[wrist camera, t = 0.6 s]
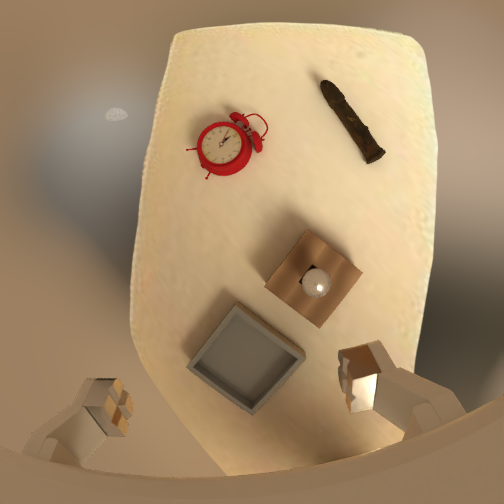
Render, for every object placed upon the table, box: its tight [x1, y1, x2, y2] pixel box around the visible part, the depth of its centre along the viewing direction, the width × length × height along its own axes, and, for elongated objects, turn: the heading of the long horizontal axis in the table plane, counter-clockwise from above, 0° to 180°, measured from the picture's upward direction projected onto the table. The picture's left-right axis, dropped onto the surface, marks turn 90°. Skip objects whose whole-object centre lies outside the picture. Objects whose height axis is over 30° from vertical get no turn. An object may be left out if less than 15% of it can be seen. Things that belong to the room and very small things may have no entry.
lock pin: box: [302, 268, 331, 298], centre depth 51 cm, size 4×4×9 cm
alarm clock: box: [186, 112, 268, 179], centre depth 55 cm, size 10×6×15 cm
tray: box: [186, 302, 306, 416], centre depth 56 cm, size 16×16×4 cm
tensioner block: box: [264, 229, 363, 329], centre depth 54 cm, size 12×12×5 cm
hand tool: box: [320, 80, 386, 164], centre depth 53 cm, size 19×4×5 cm, turn 28°
